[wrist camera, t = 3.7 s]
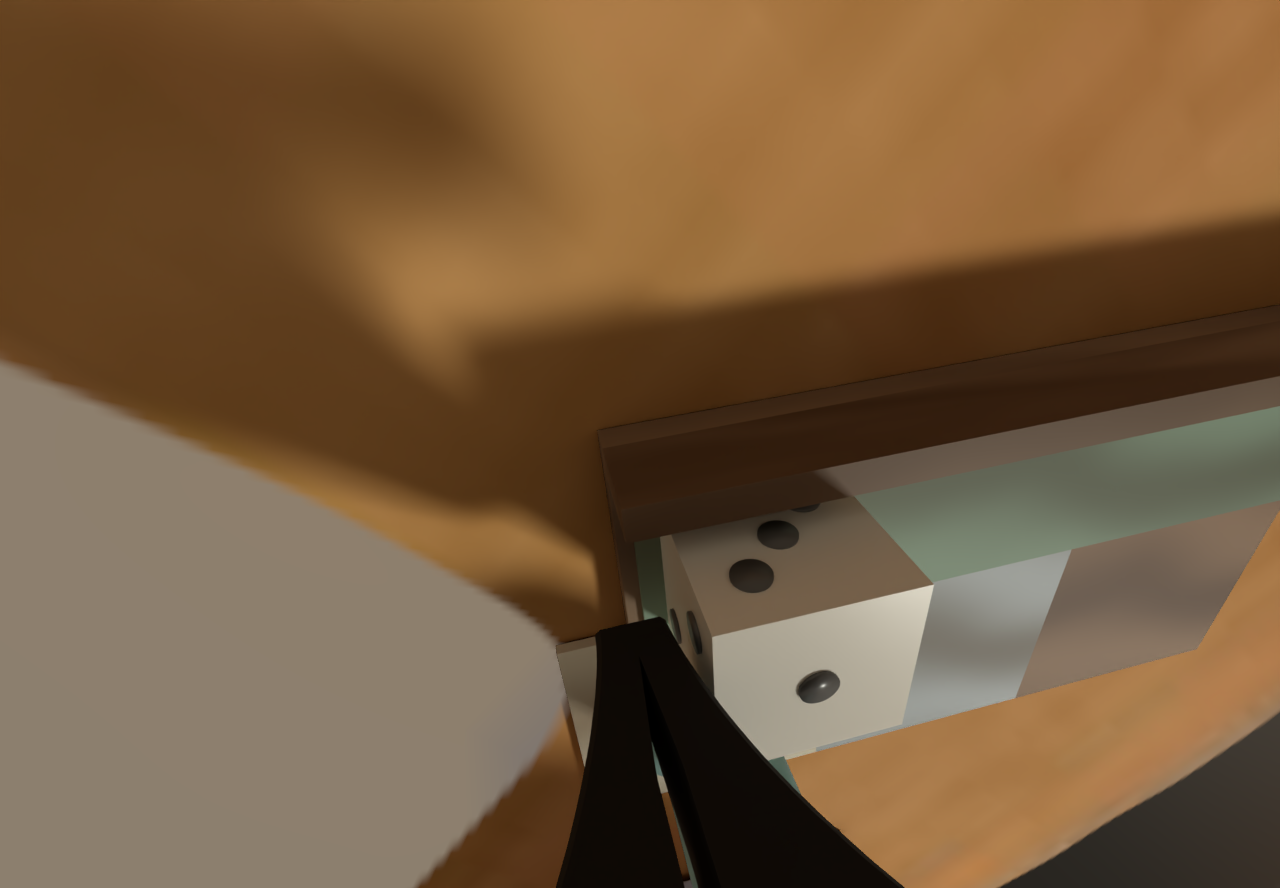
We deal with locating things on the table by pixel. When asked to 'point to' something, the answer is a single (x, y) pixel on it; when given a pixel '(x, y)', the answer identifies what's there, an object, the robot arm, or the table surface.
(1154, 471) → the dice tray
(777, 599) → the die
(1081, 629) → the track
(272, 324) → the table surface
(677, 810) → the robot arm
